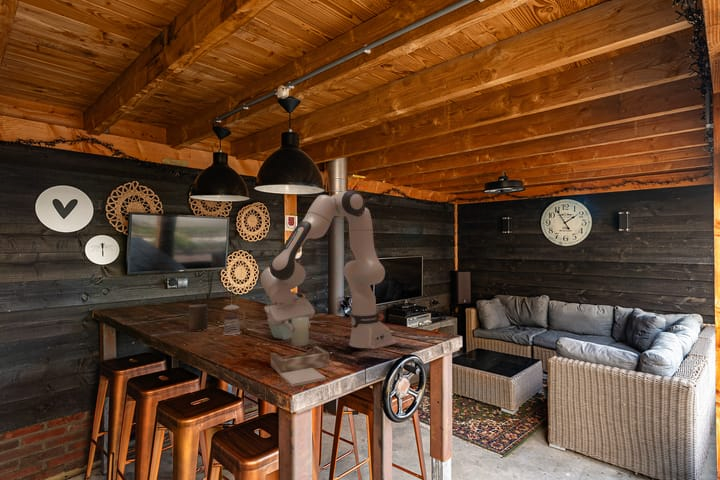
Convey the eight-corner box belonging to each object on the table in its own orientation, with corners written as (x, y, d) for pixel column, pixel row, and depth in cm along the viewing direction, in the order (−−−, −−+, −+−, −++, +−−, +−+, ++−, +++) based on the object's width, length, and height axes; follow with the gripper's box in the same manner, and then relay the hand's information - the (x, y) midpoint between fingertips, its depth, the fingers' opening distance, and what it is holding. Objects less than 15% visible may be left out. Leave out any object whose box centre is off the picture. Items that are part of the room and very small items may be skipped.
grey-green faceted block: (284, 343, 200) (299, 307, 209) (294, 345, 195) (309, 308, 205) (262, 331, 188) (279, 293, 198) (273, 332, 184) (290, 293, 193)
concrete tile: (312, 370, 143) (312, 367, 143) (325, 380, 132) (325, 377, 132) (280, 376, 137) (280, 373, 137) (292, 386, 126) (292, 383, 127)
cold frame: (316, 358, 158) (316, 346, 158) (329, 366, 148) (329, 353, 148) (270, 366, 148) (270, 353, 148) (280, 375, 138) (280, 361, 138)
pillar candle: (206, 331, 211) (205, 303, 211) (186, 332, 208) (186, 304, 209) (208, 327, 220) (208, 301, 220) (190, 328, 218) (190, 302, 218)
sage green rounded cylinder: (304, 340, 153) (304, 315, 153) (311, 344, 147) (310, 318, 147) (289, 343, 150) (288, 317, 150) (295, 346, 144) (294, 320, 144)
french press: (222, 332, 208) (222, 285, 208) (245, 330, 211) (244, 285, 211) (221, 336, 198) (220, 287, 198) (244, 334, 201) (244, 286, 202)
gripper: (265, 300, 145) (282, 329, 139) (307, 293, 161) (323, 319, 154) (259, 310, 148) (275, 339, 142) (300, 303, 164) (316, 329, 157)
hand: (300, 329), depth 148 cm, fingers closed on sage green rounded cylinder, 6 cm apart
